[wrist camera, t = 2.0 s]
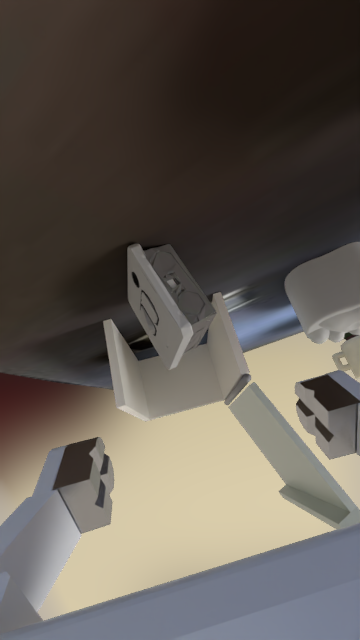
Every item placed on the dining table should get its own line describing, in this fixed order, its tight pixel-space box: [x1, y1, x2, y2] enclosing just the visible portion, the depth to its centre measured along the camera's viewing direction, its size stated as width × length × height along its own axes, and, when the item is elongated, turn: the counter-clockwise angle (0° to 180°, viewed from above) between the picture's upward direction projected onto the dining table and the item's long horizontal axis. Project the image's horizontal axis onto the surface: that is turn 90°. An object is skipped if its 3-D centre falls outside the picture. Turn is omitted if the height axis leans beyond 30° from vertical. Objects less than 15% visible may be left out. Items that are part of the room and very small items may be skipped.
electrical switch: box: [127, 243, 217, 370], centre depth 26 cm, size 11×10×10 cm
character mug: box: [332, 332, 360, 379], centre depth 50 cm, size 11×7×13 cm, turn 115°
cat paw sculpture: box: [285, 242, 360, 344], centre depth 37 cm, size 10×13×9 cm
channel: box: [103, 292, 251, 421], centre depth 42 cm, size 15×20×12 cm
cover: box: [229, 382, 360, 529], centre depth 37 cm, size 15×20×2 cm
